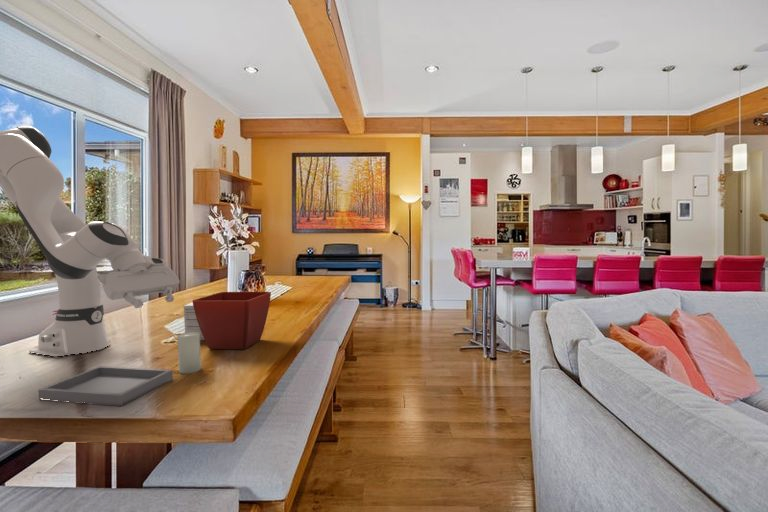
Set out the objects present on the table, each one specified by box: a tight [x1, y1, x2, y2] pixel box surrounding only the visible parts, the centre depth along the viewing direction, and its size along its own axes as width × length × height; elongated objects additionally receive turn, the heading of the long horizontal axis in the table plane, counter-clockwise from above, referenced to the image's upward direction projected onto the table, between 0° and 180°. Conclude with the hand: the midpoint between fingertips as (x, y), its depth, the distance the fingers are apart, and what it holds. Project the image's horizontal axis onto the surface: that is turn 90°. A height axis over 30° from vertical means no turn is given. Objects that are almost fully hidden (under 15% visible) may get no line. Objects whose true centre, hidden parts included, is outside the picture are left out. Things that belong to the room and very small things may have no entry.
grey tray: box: [37, 365, 173, 407], centre depth 96 cm, size 22×16×2 cm
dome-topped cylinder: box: [176, 332, 202, 374], centre depth 109 cm, size 6×6×10 cm
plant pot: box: [191, 291, 272, 350], centre depth 133 cm, size 19×19×17 cm
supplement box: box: [183, 301, 205, 341], centre depth 143 cm, size 7×7×13 cm
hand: (156, 303), depth 113 cm, fingers open, 8 cm apart
